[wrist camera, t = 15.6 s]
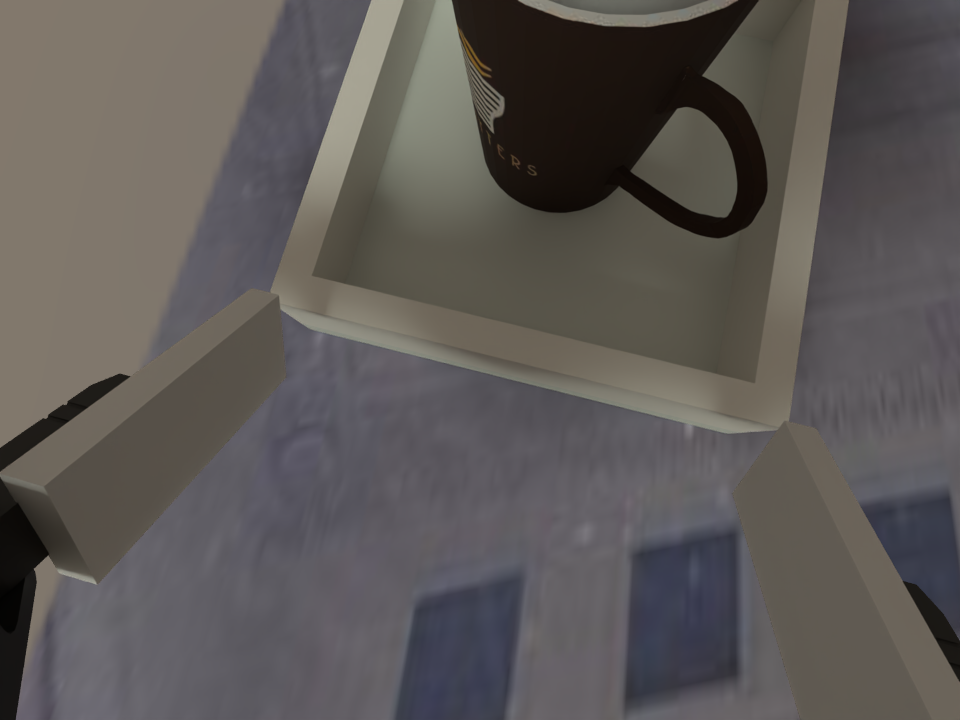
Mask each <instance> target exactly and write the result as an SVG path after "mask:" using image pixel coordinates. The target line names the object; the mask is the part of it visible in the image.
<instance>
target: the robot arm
mask: <svg viewBox="0 0 960 720" xmlns="http://www.w3.org/2000/svg"><path fill="white" fill-rule="evenodd" d="M285 378H286V368H285V356H284V345H283V334H282V322H281V311H280V300H279V295H277V294H273V293H269V292H265V291H261V290H257V289H253V288H251V289H250V290H249V291H247V292H246V293H244V294H243V295H242V296H240V297H239V298H238V299H236V300H235V301H233V302H232V303H231V304H229V305H228V306H227V307H225V308H224V309H223V310H221V311H220V312H218V313H217V314H216V315H214V316H213V317H212V318H210V319H209V320H207V321H206V322H205V323H203V324H202V325H201V326H199V327H198V328H196V329H195V330H194V331H192V332H191V333H190V334H188V335H187V336H186V337H184V338H183V339H181V340H180V341H179V342H177V343H176V344H175V345H173V346H172V347H170V348H169V349H168V350H166V351H165V352H164V353H162V354H161V355H159V356H158V357H157V358H155V359H154V360H153V361H151V362H150V363H149V364H147V365H146V366H144V367H143V368H142V369H140V370H139V371H138V372H136V373H135V374H133V375H132V376H127V375H123V374H118V375H115V376H113V377H110V378H108V379H105V380H103V381H100V382H98V383H95V384H93V385H91V386H89V387H88V388H86V389H85V390H83V391H82V392H80V393H79V394H78V395H76V396H75V397H73V398H72V399H70V400H69V401H68V403H67V405H62V406H60V407H59V408H58V409H56V410H54V411H53V412H51V413H50V414H49V415H48V418H47V419H44V418H43V419H42V420H40V421H38V422H37V423H36V424H34V425H33V426H31V427H30V428H28V429H27V430H25V431H24V432H22V433H21V434H20V435H18V436H17V437H15V438H14V439H13V440H11V441H9V442H8V443H7V444H5V445H4V446H2V447H1V448H0V720H16V714H17V707H18V701H19V694H20V688H21V681H22V675H23V668H24V662H25V655H26V649H27V642H28V636H29V629H30V622H31V616H32V609H33V602H34V596H35V589H36V583H37V581H36V574H35V571H34V568H35V567H36V566H37V565H38V564H39V563H40V562H42V561H43V560H44V559H45V558H46V557H47V556H48V555H49V557H50V559H51V560H52V562H53V564H54V565H55V567H56V568H57V570H58V572H59V573H60V574H63V575H67V576H70V577H73V578H77V579H80V580H83V581H87V582H90V583H93V584H97V585H98V584H99V583H100V581H101V580H102V579H103V578H104V577H105V576H106V575H107V574H108V573H109V572H110V570H111V569H112V568H113V567H114V566H115V565H116V564H117V563H118V562H119V561H120V559H121V558H122V557H123V556H124V555H125V554H126V553H127V552H128V551H129V550H130V548H131V547H132V546H133V545H134V544H135V543H136V542H137V541H138V540H139V539H140V537H141V536H142V535H143V534H144V533H145V532H146V531H147V530H148V529H149V528H150V526H151V525H152V524H153V523H154V522H155V521H156V520H157V519H158V518H159V517H160V515H161V514H162V513H163V512H164V511H165V510H166V509H167V508H168V507H169V506H170V504H171V503H172V502H173V501H174V500H175V499H176V498H177V497H178V496H179V495H180V493H181V492H182V491H183V490H184V489H185V488H186V487H187V486H188V485H189V484H190V482H191V481H192V480H193V479H194V478H195V477H196V476H197V475H198V474H199V473H200V471H201V470H202V469H203V468H204V467H205V466H206V465H207V464H208V463H209V462H210V460H211V459H212V458H213V457H214V456H215V455H216V454H217V453H218V452H219V451H220V449H221V448H222V447H223V446H224V445H225V444H226V443H227V442H228V441H229V440H230V438H231V437H232V436H233V435H234V434H235V433H236V432H237V431H238V430H239V429H240V427H241V426H242V425H243V424H244V423H245V422H246V421H247V420H248V419H249V418H250V416H251V415H252V414H253V413H254V412H255V411H256V410H257V409H258V408H259V407H260V405H261V404H262V403H263V402H264V401H265V400H266V399H267V398H268V397H269V396H270V394H271V393H272V392H273V391H274V390H275V389H276V388H277V387H278V386H279V385H280V384H281V382H282V381H283V380H284V379H285ZM732 494H733V498H734V501H735V504H736V508H737V511H738V514H739V518H740V521H741V524H742V528H743V531H744V534H745V538H746V541H747V544H748V547H749V551H750V554H751V557H752V561H753V564H754V567H755V571H756V574H757V577H758V581H759V584H760V587H761V591H762V594H763V597H764V601H765V604H766V607H767V611H768V614H769V617H770V621H771V624H772V627H773V631H774V634H775V637H776V641H777V644H778V647H779V650H780V654H781V657H782V660H783V664H784V667H785V670H786V674H787V677H788V680H789V684H790V687H791V690H792V694H793V697H794V700H795V704H796V707H797V710H798V714H799V717H800V720H960V641H959V639H958V637H957V636H956V634H955V632H954V631H953V629H952V627H951V626H950V624H949V622H948V621H947V619H946V617H945V616H944V614H943V613H942V612H941V611H940V610H939V609H938V607H937V606H936V605H935V604H934V603H933V602H932V601H931V600H930V599H929V598H928V597H927V596H926V594H925V593H924V592H923V591H922V590H921V589H920V588H919V587H918V586H917V585H915V584H912V583H908V582H904V581H902V579H901V578H900V576H899V574H898V572H897V571H896V569H895V567H894V565H893V564H892V562H891V560H890V558H889V556H888V555H887V553H886V551H885V549H884V548H883V546H882V544H881V542H880V541H879V539H878V537H877V535H876V533H875V532H874V530H873V528H872V526H871V525H870V523H869V521H868V519H867V518H866V516H865V514H864V512H863V511H862V509H861V507H860V505H859V503H858V502H857V500H856V498H855V496H854V495H853V493H852V491H851V489H850V488H849V486H848V484H847V482H846V480H845V479H844V477H843V475H842V473H841V472H840V470H839V468H838V466H837V465H836V463H835V461H834V459H833V457H832V456H831V454H830V452H829V450H828V449H827V447H826V445H825V443H824V442H823V440H822V438H821V436H820V434H819V433H818V431H817V429H816V428H812V427H808V426H804V425H800V424H796V423H792V422H788V421H784V422H783V423H782V424H781V426H780V427H779V429H778V430H777V431H776V433H775V434H774V436H773V437H772V438H771V440H770V441H769V443H768V444H767V445H766V447H765V448H764V450H763V451H762V452H761V454H760V455H759V457H758V458H757V459H756V461H755V462H754V464H753V465H752V466H751V468H750V469H749V471H748V472H747V473H746V475H745V476H744V478H743V479H742V480H741V482H740V483H739V485H738V486H737V487H736V489H735V490H734V492H733V493H732Z"/></svg>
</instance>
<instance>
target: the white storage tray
mask: <svg viewBox="0 0 960 720" xmlns="http://www.w3.org/2000/svg"><path fill="white" fill-rule="evenodd" d="M848 4H849V0H759V1H758V3H757V4H756V5H755V6H754V8H753V9H752V10H751V12H750V13H749V14H748V16H747V17H746V18H745V20H744V21H743V22H742V24H741V25H740V26H739V28H738V29H737V30H736V32H735V33H734V34H733V36H732V37H731V38H730V40H729V41H728V42H727V44H726V45H725V46H724V48H723V49H722V50H721V52H720V53H719V54H718V56H717V57H716V58H715V59H714V61H713V62H712V63H711V65H710V66H709V67H708V69H707V70H706V71H705V73H704V74H703V75H702V76H703V77H706V78H707V79H709V80H711V81H713V82H715V83H717V84H719V85H720V86H721V87H723V88H724V89H725V90H727V91H728V92H729V93H731V94H732V95H734V96H735V97H736V98H738V99H739V100H740V101H741V102H742V104H743V105H744V107H745V108H746V110H747V112H748V113H749V115H750V117H751V119H752V122H753V124H754V126H755V128H756V130H757V133H758V135H759V138H760V141H761V144H762V147H763V151H764V155H765V159H766V166H767V179H768V191H767V195H766V198H765V202H764V204H763V205H762V207H761V209H760V210H759V212H758V214H757V215H756V217H755V219H754V220H753V222H752V223H751V224H750V225H749V226H748V227H747V228H745V229H743V230H741V231H739V232H737V233H735V234H733V235H730V236H728V237H724V238H719V239H717V238H710V237H705V236H700V235H697V234H694V233H692V232H690V231H687V230H685V229H682V228H680V227H678V226H676V225H674V224H672V223H670V222H669V221H667V220H665V219H664V218H663V217H661V216H660V215H658V214H657V213H655V212H654V211H652V210H651V209H650V208H648V207H647V206H645V205H644V204H642V203H641V202H640V201H639V200H637V199H636V198H634V197H633V196H632V195H631V194H630V193H628V192H626V191H625V190H623V189H622V188H621V187H620V186H619V187H618V188H617V189H616V190H615V191H614V192H613V193H612V194H611V195H609V196H608V197H607V198H606V199H604V200H602V201H601V202H599V203H597V204H596V205H594V206H591V207H588V208H586V209H583V210H580V211H574V212H568V213H550V212H545V211H540V210H535V209H533V208H530V207H528V206H525V205H523V204H521V203H519V202H518V201H516V200H514V199H513V198H511V197H510V196H508V195H507V194H506V193H505V192H504V191H503V190H502V189H501V188H500V187H499V186H498V185H497V183H496V182H495V180H494V179H493V177H492V176H491V174H490V172H489V170H488V167H487V165H486V163H485V159H484V154H483V149H482V144H481V139H480V134H479V130H478V125H477V120H476V115H475V110H474V106H473V101H472V96H471V91H470V86H469V81H468V77H467V72H466V67H465V62H464V57H463V52H462V48H461V43H460V38H459V33H458V28H457V23H456V19H455V14H454V9H453V4H452V0H372V1H371V4H370V7H369V9H368V12H367V15H366V18H365V21H364V24H363V27H362V30H361V32H360V35H359V38H358V41H357V44H356V47H355V50H354V52H353V55H352V58H351V61H350V64H349V67H348V70H347V73H346V75H345V78H344V81H343V84H342V87H341V90H340V93H339V96H338V98H337V101H336V104H335V107H334V110H333V113H332V116H331V119H330V121H329V124H328V127H327V130H326V133H325V136H324V139H323V141H322V144H321V147H320V150H319V153H318V156H317V159H316V162H315V164H314V167H313V170H312V173H311V176H310V179H309V182H308V185H307V187H306V190H305V193H304V196H303V199H302V202H301V205H300V208H299V210H298V213H297V216H296V219H295V222H294V225H293V228H292V230H291V233H290V236H289V239H288V242H287V245H286V248H285V251H284V253H283V256H282V259H281V262H280V265H279V268H278V271H277V274H276V276H275V279H274V282H273V285H272V288H271V291H270V293H273V294H277V295H279V300H280V309H281V310H282V311H284V312H285V313H287V314H288V315H290V316H291V317H293V318H294V319H296V320H297V321H299V322H300V323H302V324H303V325H305V326H306V327H308V328H309V329H311V330H315V331H319V332H323V333H327V334H331V335H335V336H339V337H343V338H347V339H351V340H355V341H359V342H363V343H367V344H371V345H375V346H379V347H383V348H387V349H391V350H395V351H399V352H403V353H407V354H411V355H415V356H419V357H423V358H427V359H431V360H435V361H439V362H443V363H447V364H451V365H455V366H459V367H463V368H467V369H471V370H475V371H479V372H483V373H487V374H491V375H495V376H499V377H503V378H507V379H511V380H515V381H519V382H523V383H527V384H531V385H535V386H539V387H543V388H547V389H550V390H554V391H558V392H562V393H566V394H570V395H574V396H578V397H582V398H586V399H590V400H594V401H598V402H602V403H606V404H610V405H614V406H618V407H622V408H626V409H630V410H634V411H638V412H642V413H646V414H650V415H654V416H658V417H662V418H666V419H670V420H674V421H678V422H682V423H686V424H690V425H694V426H698V427H702V428H706V429H710V430H714V431H718V432H722V433H726V434H728V433H743V432H757V431H772V430H778V429H779V427H780V426H781V424H782V423H783V422H784V421H788V422H789V416H790V409H791V402H792V395H793V388H794V381H795V374H796V367H797V360H798V353H799V346H800V339H801V332H802V325H803V318H804V311H805V304H806V297H807V290H808V283H809V276H810V269H811V262H812V255H813V248H814V241H815V234H816V227H817V220H818V214H819V207H820V200H821V193H822V186H823V179H824V172H825V165H826V158H827V151H828V144H829V137H830V130H831V123H832V116H833V109H834V102H835V95H836V88H837V81H838V74H839V67H840V60H841V53H842V46H843V39H844V32H845V25H846V18H847V11H848ZM631 172H632V173H633V174H635V175H636V176H638V177H639V178H641V179H642V180H644V181H646V182H647V183H648V184H650V185H651V186H653V187H654V188H656V189H657V190H658V191H660V192H662V193H663V194H665V195H666V196H668V197H669V198H671V199H672V200H674V201H676V202H677V203H679V204H680V205H682V206H683V207H685V208H687V209H689V210H691V211H693V212H696V213H700V214H706V215H710V216H714V217H727V216H728V214H729V213H730V211H731V210H732V207H733V205H734V202H735V199H736V194H737V176H736V169H735V164H734V159H733V155H732V151H731V149H730V147H729V145H728V142H727V140H726V138H725V137H724V135H723V133H722V132H721V131H720V129H719V128H718V127H717V125H716V124H715V123H714V122H713V121H712V120H710V119H709V118H708V117H707V116H706V115H705V114H704V113H702V112H701V111H699V110H696V109H693V108H689V107H683V108H678V109H677V110H676V111H675V113H674V114H673V115H672V116H671V118H670V119H669V120H668V122H667V123H666V124H665V126H664V127H663V128H662V130H661V131H660V132H659V134H658V135H657V136H656V138H655V139H654V140H653V142H652V143H651V144H650V146H649V147H648V148H647V150H646V151H645V152H644V154H643V155H642V156H641V158H640V159H639V160H638V162H637V163H636V164H635V166H634V167H633V168H632V169H631Z"/></svg>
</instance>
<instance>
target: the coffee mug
mask: <svg viewBox="0 0 960 720" xmlns="http://www.w3.org/2000/svg"><path fill="white" fill-rule="evenodd" d="M758 1H759V0H452V4H453V9H454V14H455V19H456V23H457V28H458V33H459V38H460V43H461V48H462V52H463V57H464V62H465V67H466V72H467V77H468V81H469V86H470V91H471V96H472V101H473V106H474V110H475V115H476V120H477V125H478V130H479V134H480V139H481V144H482V149H483V154H484V159H485V163H486V165H487V167H488V170H489V172H490V174H491V176H492V177H493V179H494V180H495V182H496V183H497V185H498V186H499V187H500V188H501V189H502V190H503V191H504V192H505V193H506V194H507V195H508V196H510V197H511V198H513V199H514V200H516V201H518V202H519V203H521V204H523V205H525V206H528V207H530V208H533V209H535V210H540V211H545V212H550V213H568V212H574V211H580V210H583V209H586V208H588V207H591V206H594V205H596V204H597V203H599V202H601V201H602V200H604V199H606V198H607V197H608V196H609V195H611V194H612V193H613V192H614V191H615V190H616V189H617V188H618V187H619V186H620V187H621V188H622V189H623V190H625V191H626V192H628V193H630V194H631V195H632V196H633V197H634V198H636V199H637V200H639V201H640V202H641V203H642V204H644V205H645V206H647V207H648V208H650V209H651V210H652V211H654V212H655V213H657V214H658V215H660V216H661V217H663V218H664V219H665V220H667V221H669V222H670V223H672V224H674V225H676V226H678V227H680V228H682V229H685V230H687V231H690V232H692V233H694V234H697V235H700V236H705V237H710V238H717V239H719V238H724V237H728V236H730V235H733V234H735V233H737V232H739V231H741V230H743V229H745V228H747V227H748V226H749V225H750V224H751V223H752V222H753V220H754V219H755V217H756V215H757V214H758V212H759V210H760V209H761V207H762V205H763V204H764V202H765V198H766V195H767V191H768V179H767V166H766V159H765V155H764V151H763V147H762V144H761V141H760V138H759V135H758V133H757V130H756V128H755V126H754V124H753V122H752V119H751V117H750V115H749V113H748V112H747V110H746V108H745V107H744V105H743V104H742V102H741V101H740V100H739V99H738V98H736V97H735V96H734V95H732V94H731V93H729V92H728V91H727V90H725V89H724V88H723V87H721V86H720V85H719V84H717V83H715V82H713V81H711V80H709V79H707V78H706V77H703V76H702V75H703V74H704V73H705V71H706V70H707V69H708V67H709V66H710V65H711V63H712V62H713V61H714V59H715V58H716V57H717V56H718V54H719V53H720V52H721V50H722V49H723V48H724V46H725V45H726V44H727V42H728V41H729V40H730V38H731V37H732V36H733V34H734V33H735V32H736V30H737V29H738V28H739V26H740V25H741V24H742V22H743V21H744V20H745V18H746V17H747V16H748V14H749V13H750V12H751V10H752V9H753V8H754V6H755V5H756V4H757V3H758ZM683 107H689V108H693V109H696V110H699V111H701V112H702V113H704V114H705V115H706V116H707V117H708V118H709V119H710V120H712V121H713V122H714V123H715V124H716V125H717V127H718V128H719V129H720V131H721V132H722V133H723V135H724V137H725V138H726V140H727V142H728V145H729V147H730V149H731V151H732V155H733V159H734V164H735V169H736V176H737V194H736V199H735V202H734V205H733V207H732V210H731V211H730V213H729V214H728V216H727V217H714V216H710V215H706V214H700V213H696V212H693V211H691V210H689V209H687V208H685V207H683V206H682V205H680V204H679V203H677V202H676V201H674V200H672V199H671V198H669V197H668V196H666V195H665V194H663V193H662V192H660V191H658V190H657V189H656V188H654V187H653V186H651V185H650V184H648V183H647V182H646V181H644V180H642V179H641V178H639V177H638V176H636V175H635V174H633V173H632V172H631V169H632V168H633V167H634V166H635V164H636V163H637V162H638V160H639V159H640V158H641V156H642V155H643V154H644V152H645V151H646V150H647V148H648V147H649V146H650V144H651V143H652V142H653V140H654V139H655V138H656V136H657V135H658V134H659V132H660V131H661V130H662V128H663V127H664V126H665V124H666V123H667V122H668V120H669V119H670V118H671V116H672V115H673V114H674V113H675V111H676V110H677V109H678V108H683Z"/></svg>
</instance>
